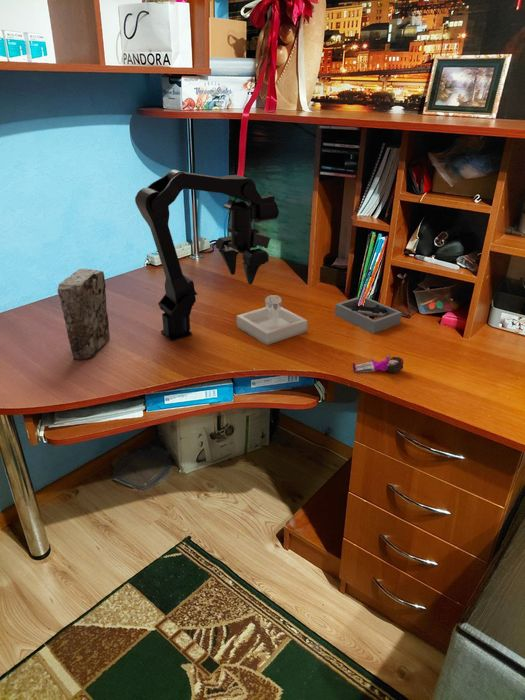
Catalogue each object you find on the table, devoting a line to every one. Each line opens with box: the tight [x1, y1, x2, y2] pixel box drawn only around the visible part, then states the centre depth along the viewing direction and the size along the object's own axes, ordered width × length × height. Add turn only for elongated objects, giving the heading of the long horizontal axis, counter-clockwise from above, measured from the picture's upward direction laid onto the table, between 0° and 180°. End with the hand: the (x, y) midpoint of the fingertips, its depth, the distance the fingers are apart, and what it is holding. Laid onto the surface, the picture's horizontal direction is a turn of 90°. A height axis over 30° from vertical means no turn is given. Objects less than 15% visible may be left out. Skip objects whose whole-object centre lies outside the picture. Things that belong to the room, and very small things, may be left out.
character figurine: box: [352, 354, 405, 374], centre depth 129 cm, size 6×5×12 cm
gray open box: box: [334, 297, 403, 334], centre depth 155 cm, size 11×15×4 cm
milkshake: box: [264, 294, 282, 329], centre depth 146 cm, size 4×5×10 cm
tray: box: [236, 306, 308, 346], centre depth 149 cm, size 14×14×4 cm
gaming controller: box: [349, 302, 387, 320], centre depth 154 cm, size 11×4×7 cm
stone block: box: [57, 268, 111, 361], centre depth 133 cm, size 13×7×20 cm, turn 175°
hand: (241, 279), depth 151 cm, fingers open, 9 cm apart
